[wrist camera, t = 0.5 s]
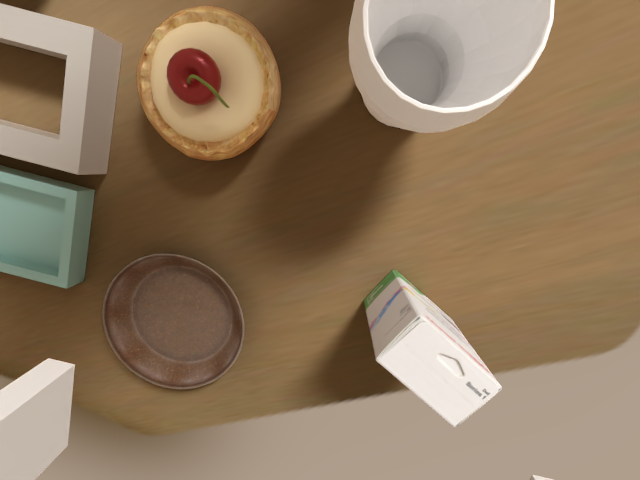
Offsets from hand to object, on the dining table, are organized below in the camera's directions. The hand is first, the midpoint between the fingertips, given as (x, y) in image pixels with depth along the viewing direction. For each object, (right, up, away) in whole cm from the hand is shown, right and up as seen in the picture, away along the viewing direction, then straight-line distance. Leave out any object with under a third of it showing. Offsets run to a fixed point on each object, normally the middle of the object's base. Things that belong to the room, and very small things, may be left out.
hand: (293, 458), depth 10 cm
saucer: (-14, -2, +28) cm, 32 cm away
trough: (-30, +8, +27) cm, 41 cm away
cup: (+8, +21, +22) cm, 32 cm away
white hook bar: (-26, +20, +24) cm, 41 cm away
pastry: (-8, +20, +24) cm, 32 cm away
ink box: (+10, -1, +27) cm, 29 cm away
